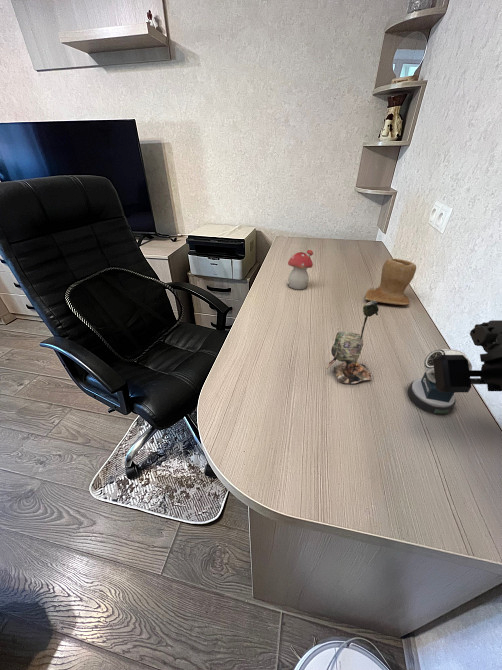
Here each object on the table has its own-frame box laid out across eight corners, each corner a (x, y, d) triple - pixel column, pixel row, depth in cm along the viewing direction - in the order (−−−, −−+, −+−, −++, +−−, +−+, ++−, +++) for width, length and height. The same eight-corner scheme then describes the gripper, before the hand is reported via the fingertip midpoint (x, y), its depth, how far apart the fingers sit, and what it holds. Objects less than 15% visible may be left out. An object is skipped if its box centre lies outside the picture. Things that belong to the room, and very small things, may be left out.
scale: (460, 414, 60) (466, 406, 58) (419, 414, 60) (423, 406, 58) (437, 384, 67) (442, 376, 66) (400, 384, 67) (404, 376, 66)
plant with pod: (323, 360, 74) (337, 293, 63) (368, 366, 72) (390, 297, 61) (324, 382, 68) (339, 311, 56) (373, 388, 66) (399, 316, 54)
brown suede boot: (404, 295, 106) (418, 256, 97) (409, 310, 96) (425, 269, 88) (363, 290, 109) (372, 252, 101) (363, 304, 100) (374, 264, 91)
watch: (411, 379, 65) (428, 341, 58) (450, 386, 63) (472, 347, 57) (416, 396, 60) (435, 358, 54) (458, 404, 59) (483, 365, 52)
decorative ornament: (311, 285, 113) (316, 248, 104) (307, 292, 108) (312, 254, 99) (289, 281, 116) (292, 245, 107) (284, 288, 111) (287, 250, 102)
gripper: (591, 316, 41) (498, 335, 56) (464, 316, 41) (406, 335, 56) (609, 394, 39) (507, 391, 54) (475, 393, 39) (411, 391, 54)
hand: (457, 375), depth 55 cm, fingers open, 9 cm apart
